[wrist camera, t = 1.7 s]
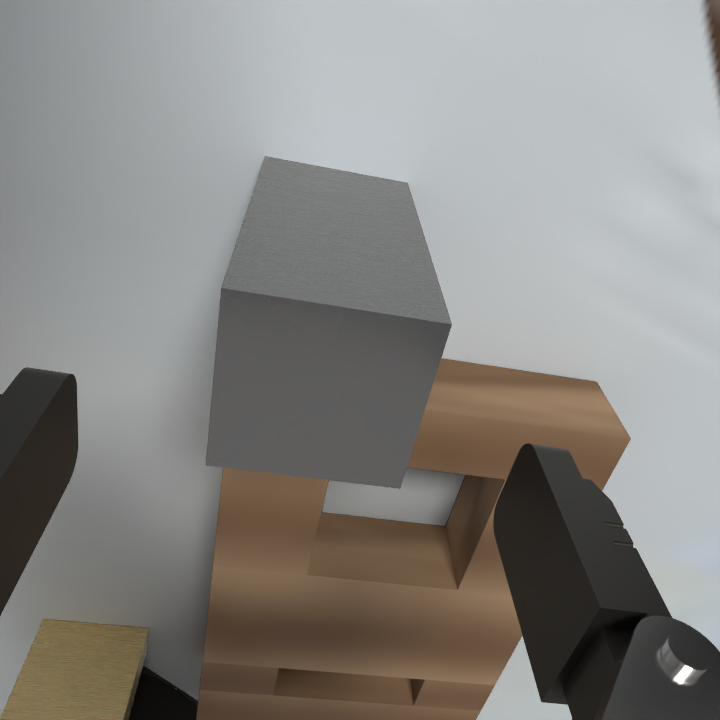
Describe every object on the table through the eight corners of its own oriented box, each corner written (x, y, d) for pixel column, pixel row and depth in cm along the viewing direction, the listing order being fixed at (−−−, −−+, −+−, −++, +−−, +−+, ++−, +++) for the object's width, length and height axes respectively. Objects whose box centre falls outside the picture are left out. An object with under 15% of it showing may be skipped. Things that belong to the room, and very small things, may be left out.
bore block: (245, 329, 20) (232, 383, 18) (596, 381, 22) (630, 438, 19) (207, 656, 30) (195, 722, 27) (454, 676, 31) (464, 740, 29)
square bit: (265, 156, 17) (221, 287, 11) (407, 182, 18) (451, 324, 11) (250, 286, 19) (205, 465, 13) (378, 306, 20) (400, 488, 13)
